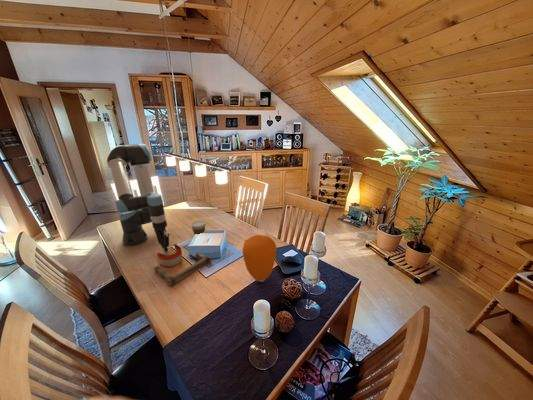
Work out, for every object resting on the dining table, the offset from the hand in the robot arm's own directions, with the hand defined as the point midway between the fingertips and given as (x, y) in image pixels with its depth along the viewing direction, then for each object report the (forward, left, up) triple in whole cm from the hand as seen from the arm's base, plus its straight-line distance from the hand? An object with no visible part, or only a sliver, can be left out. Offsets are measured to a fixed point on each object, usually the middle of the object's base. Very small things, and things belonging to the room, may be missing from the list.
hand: (166, 255), depth 138 cm
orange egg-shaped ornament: (+59, +19, -2) cm, 62 cm away
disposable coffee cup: (-1, +26, -2) cm, 26 cm away
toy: (+8, 0, -2) cm, 8 cm away
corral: (+17, 0, -2) cm, 17 cm away
